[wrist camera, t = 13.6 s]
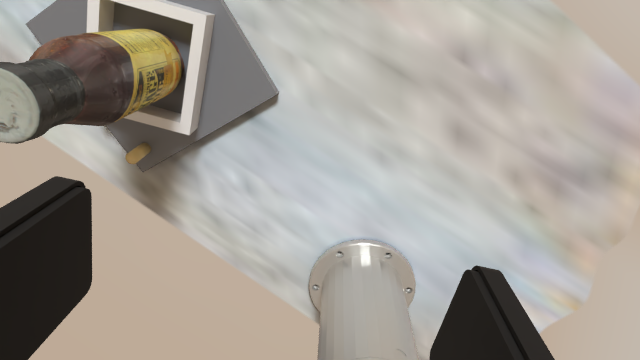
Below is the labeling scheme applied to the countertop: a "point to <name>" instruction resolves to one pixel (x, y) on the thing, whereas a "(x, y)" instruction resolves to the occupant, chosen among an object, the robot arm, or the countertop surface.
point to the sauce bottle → (86, 81)
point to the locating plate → (198, 76)
